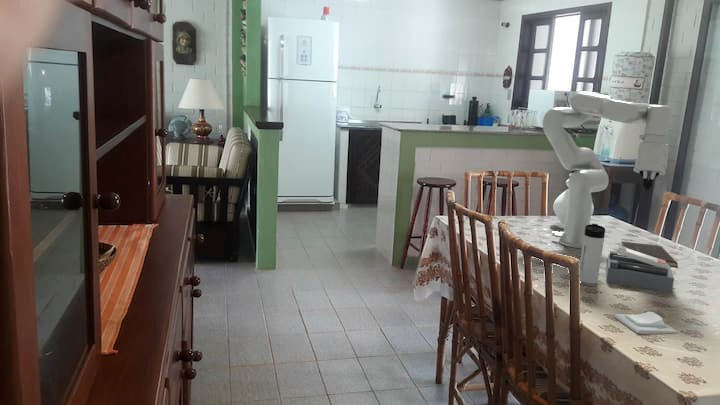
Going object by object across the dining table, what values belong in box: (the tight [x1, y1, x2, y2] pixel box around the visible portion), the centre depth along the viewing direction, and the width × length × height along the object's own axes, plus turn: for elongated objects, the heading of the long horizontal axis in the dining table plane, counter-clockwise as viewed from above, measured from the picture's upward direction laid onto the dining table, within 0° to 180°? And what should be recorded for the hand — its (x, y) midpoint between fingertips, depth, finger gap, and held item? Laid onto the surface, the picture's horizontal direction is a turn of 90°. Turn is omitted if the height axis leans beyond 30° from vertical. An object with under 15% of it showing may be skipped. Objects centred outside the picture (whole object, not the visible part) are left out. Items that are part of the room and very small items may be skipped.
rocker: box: [615, 244, 667, 268], centre depth 198 cm, size 16×5×2 cm, turn 68°
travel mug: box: [579, 223, 606, 287], centre depth 191 cm, size 6×7×20 cm
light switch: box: [614, 311, 679, 335], centre depth 162 cm, size 11×4×13 cm
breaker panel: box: [605, 250, 675, 294], centre depth 199 cm, size 20×16×7 cm
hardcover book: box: [620, 241, 679, 268], centre depth 230 cm, size 16×23×2 cm
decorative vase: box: [552, 172, 595, 230], centre depth 267 cm, size 18×18×25 cm
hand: (646, 189), depth 211 cm, fingers closed
